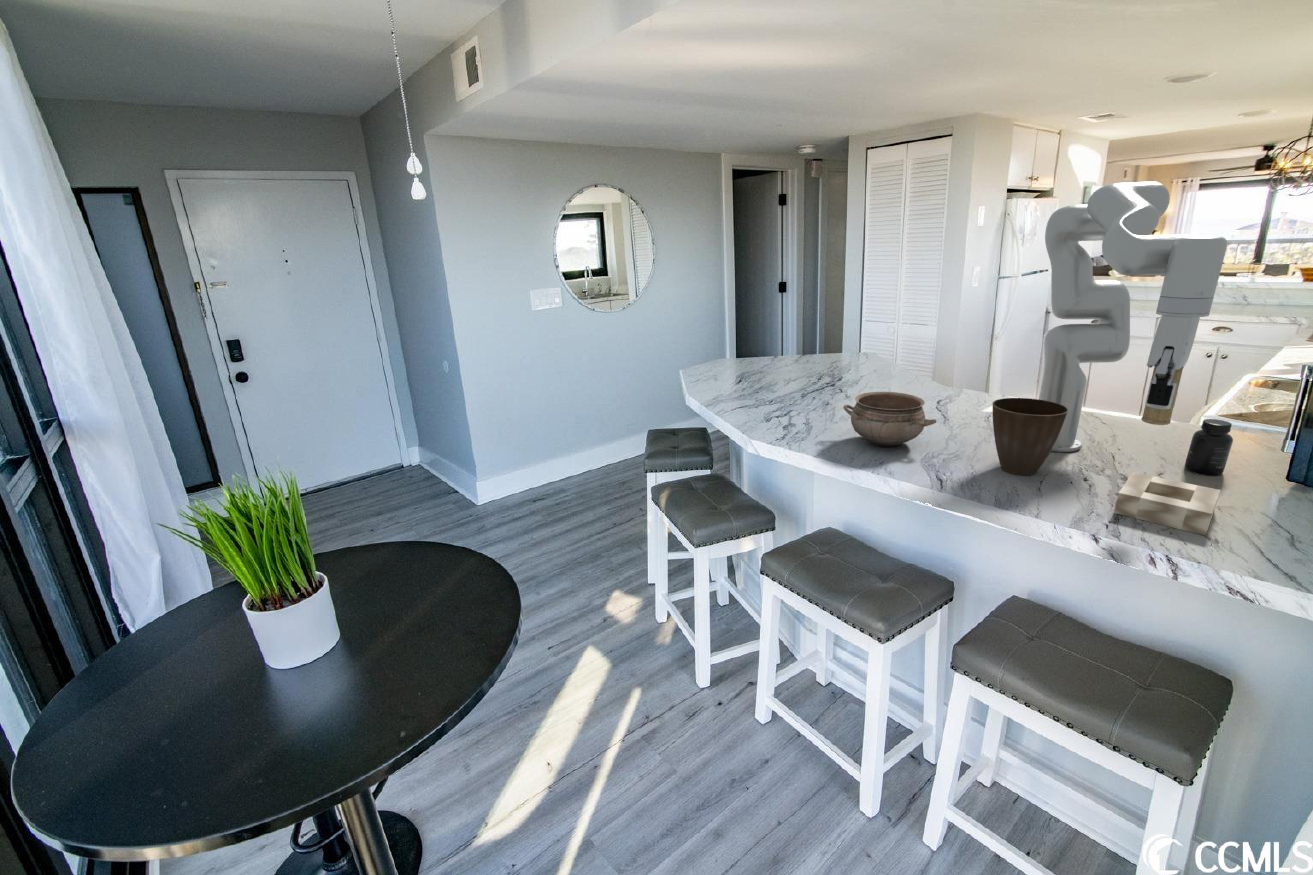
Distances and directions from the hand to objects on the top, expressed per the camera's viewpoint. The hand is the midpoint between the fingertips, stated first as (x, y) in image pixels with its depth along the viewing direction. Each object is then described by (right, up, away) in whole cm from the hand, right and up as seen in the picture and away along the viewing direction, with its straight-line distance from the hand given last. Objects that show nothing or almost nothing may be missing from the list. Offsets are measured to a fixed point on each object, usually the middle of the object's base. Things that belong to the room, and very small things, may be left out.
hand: (1160, 401), depth 115 cm
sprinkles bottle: (0, -4, +2) cm, 5 cm away
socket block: (+4, -22, +5) cm, 23 cm away
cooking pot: (-35, -9, +48) cm, 60 cm away
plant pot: (-11, -15, +27) cm, 33 cm away
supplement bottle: (+29, -15, +22) cm, 40 cm away
